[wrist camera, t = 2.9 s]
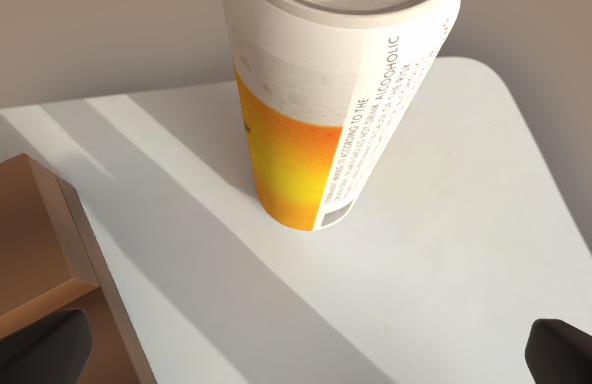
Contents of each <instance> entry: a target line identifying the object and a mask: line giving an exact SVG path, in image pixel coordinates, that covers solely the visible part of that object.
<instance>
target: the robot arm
mask: <svg viewBox="0 0 592 384" xmlns="http://www.w3.org/2000/svg"><path fill="white" fill-rule="evenodd" d="M92 349H93V337H92V333H91V328H90V324H89V320H88V316H87V313H86V312H85V310H83V309H80V308H63V309H60V310H58V311H56V312H54V313H52V314H50V315H48V316H46V317H44V318H42V319H40V320H38V321H36V322H34V323H32V324H30V325H28V326H26V327H24V328H22V329H20V330H18V331H16V332H14V333H12V334H10V335H8V336H6V337H4V338H2V339H0V384H77V382H78V380H79V378H80V376H81V374H82V372H83V370H84V368H85V366H86V363H87V361H88V359H89V357H90V355H91V353H92ZM525 360H526V363H527V366H528V368H529V370H530V372H531V374H532V376H533V379H534V381H535V383H536V384H592V336H591V335H589V334H587V333H585V332H583V331H581V330H579V329H577V328H575V327H573V326H571V325H569V324H568V323H566V322H564V321H562V320H558V319H537V320H535V321H534V323H533V325H532V328H531V331H530V335H529V338H528V342H527V345H526V349H525Z"/></svg>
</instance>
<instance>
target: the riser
mask: <svg viewBox="0 0 592 384" xmlns="http://www.w3.org/2000/svg"><path fill="white" fill-rule="evenodd" d="M63 308H80V309H83V310H85V312H86V313H87V316H88V320H89V324H90V328H91V333H92V337H93V349H92V353H91V355H90V357H89V359H88V361H87V363H86V366H85V368H84V370H83V372H82V374H81V376H80V378H79V380H78V382H77V384H157V382H156V380H155V377H154V375H153V373H152V370H151V368H150V366H149V363H148V361H147V358H146V356H145V354H144V351H143V349H142V347H141V344H140V342H139V340H138V337H137V335H136V332H135V330H134V328H133V325H132V323H131V321H130V318H129V316H128V314H127V311H126V309H125V306H124V304H123V302H122V299H121V297H120V295H119V292H118V290H117V287H116V285H115V283H114V280H113V278H112V276H111V273H110V271H109V269H108V266H107V264H106V261H105V259H104V257H103V254H102V252H101V250H100V247H99V245H98V243H97V240H96V238H95V235H94V233H93V231H92V228H91V226H90V224H89V221H88V219H87V217H86V214H85V212H84V209H83V207H82V205H81V202H80V200H79V198H78V195H77V193H76V190H75V188H74V187H72V186H71V185H69V184H68V183H67V182H65V181H64V180H62V179H61V178H59V177H58V176H56V175H55V174H54V173H52V172H51V171H49V170H48V169H46V168H45V167H43V166H42V165H41V164H39V163H38V162H36V161H35V160H33V159H32V158H30V157H29V156H28V155H26V154H25V153H23V154H20V155H18V156H16V157H14V158H11V159H9V160H7V161H5V162H2V163H0V339H2V338H4V337H6V336H8V335H10V334H12V333H14V332H16V331H18V330H20V329H22V328H24V327H26V326H28V325H30V324H32V323H34V322H36V321H38V320H40V319H42V318H44V317H46V316H48V315H50V314H52V313H54V312H56V311H58V310H60V309H63Z"/></svg>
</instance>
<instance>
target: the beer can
mask: <svg viewBox="0 0 592 384" xmlns="http://www.w3.org/2000/svg"><path fill="white" fill-rule="evenodd" d="M222 2H223V8H224V14H225V19H226V25H227V30H228V36H229V41H230V47H231V52H232V58H233V63H234V69H235V75H236V80H237V86H238V91H239V97H240V103H241V108H242V114H243V119H244V125H245V130H246V136H247V141H248V147H249V153H250V158H251V164H252V169H253V175H254V180H255V186H256V192H257V195H258V198H259V200H260V203H261V204H262V206H263V208H264V209H265V210H266V212H267V213H268V214H269V215H270V216H271V217H272V218H274V219H275V220H276V221H278V222H279V223H281V224H283V225H285V226H287V227H290V228H293V229H297V230H305V231H310V230H319V229H323V228H326V227H329V226H331V225H333V224H335V223H336V222H338V221H339V220H341V219H342V218H343V217H344V216H345V215H346V214H347V213H348V212H349V210H350V209H351V207H352V205H353V204H354V202H355V200H356V198H357V196H358V195H359V193H360V191H361V189H362V188H363V186H364V184H365V182H366V180H367V179H368V177H369V175H370V173H371V171H372V170H373V168H374V166H375V164H376V162H377V161H378V159H379V157H380V155H381V154H382V152H383V150H384V148H385V146H386V145H387V143H388V141H389V139H390V137H391V136H392V134H393V132H394V130H395V128H396V127H397V125H398V123H399V121H400V119H401V118H402V116H403V114H404V112H405V111H406V109H407V107H408V105H409V103H410V102H411V100H412V98H413V96H414V94H415V93H416V91H417V89H418V87H419V85H420V84H421V82H422V80H423V78H424V76H425V75H426V73H427V71H428V69H429V68H430V66H431V64H432V62H433V60H434V59H435V57H436V55H437V53H438V51H439V49H440V48H441V46H442V44H443V42H444V41H445V39H446V37H447V35H448V33H449V32H450V30H451V28H452V26H453V24H454V22H455V20H456V18H457V15H458V11H459V7H460V0H222Z"/></svg>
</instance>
